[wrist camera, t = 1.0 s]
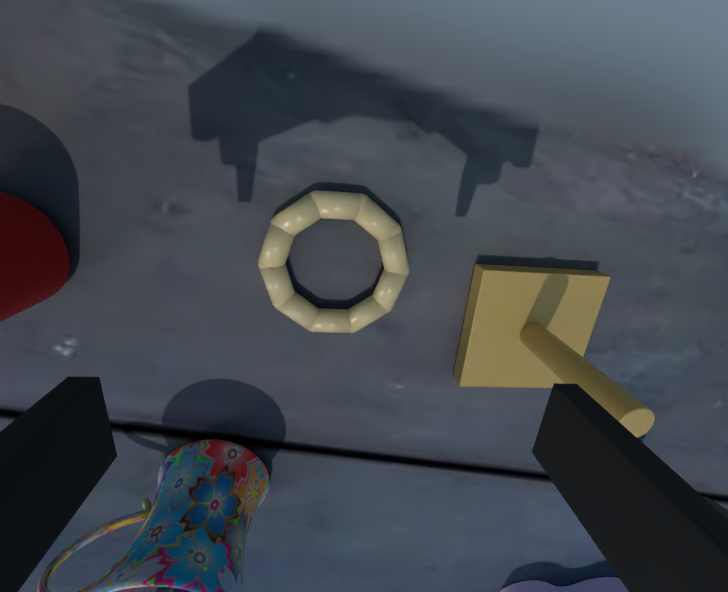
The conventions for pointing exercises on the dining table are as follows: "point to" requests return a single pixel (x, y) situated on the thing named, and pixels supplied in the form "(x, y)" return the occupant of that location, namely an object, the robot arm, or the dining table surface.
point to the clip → (570, 586)
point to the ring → (345, 209)
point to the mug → (186, 524)
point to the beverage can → (28, 256)
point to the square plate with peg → (539, 335)
